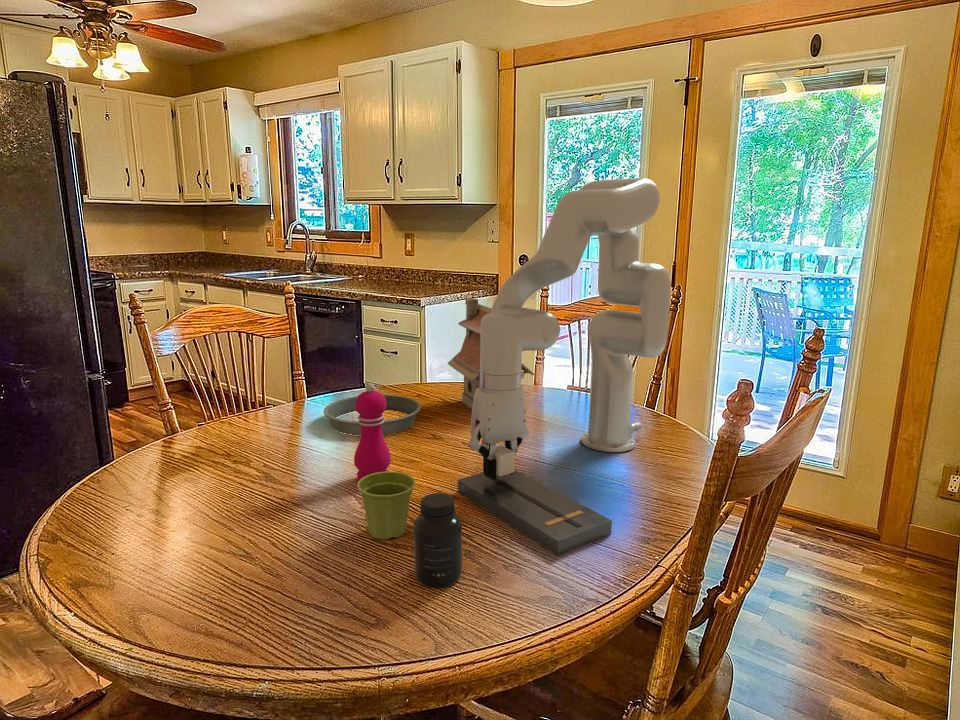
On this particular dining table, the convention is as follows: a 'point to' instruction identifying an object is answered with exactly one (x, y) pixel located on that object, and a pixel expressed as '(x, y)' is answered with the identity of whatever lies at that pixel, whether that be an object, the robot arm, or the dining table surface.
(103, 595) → the dining table surface
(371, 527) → the plant pot
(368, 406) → the pepper mill
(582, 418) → the dining table surface
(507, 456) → the fader knob
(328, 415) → the cake pan
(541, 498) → the fader console
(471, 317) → the miniature house
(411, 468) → the dining table surface
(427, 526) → the supplement bottle
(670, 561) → the dining table surface
